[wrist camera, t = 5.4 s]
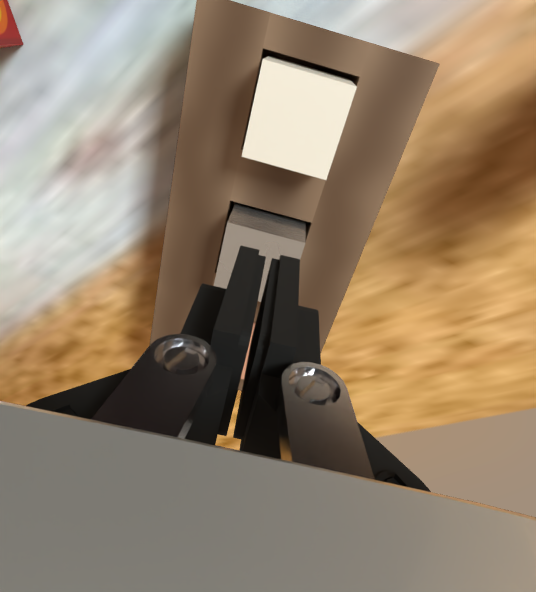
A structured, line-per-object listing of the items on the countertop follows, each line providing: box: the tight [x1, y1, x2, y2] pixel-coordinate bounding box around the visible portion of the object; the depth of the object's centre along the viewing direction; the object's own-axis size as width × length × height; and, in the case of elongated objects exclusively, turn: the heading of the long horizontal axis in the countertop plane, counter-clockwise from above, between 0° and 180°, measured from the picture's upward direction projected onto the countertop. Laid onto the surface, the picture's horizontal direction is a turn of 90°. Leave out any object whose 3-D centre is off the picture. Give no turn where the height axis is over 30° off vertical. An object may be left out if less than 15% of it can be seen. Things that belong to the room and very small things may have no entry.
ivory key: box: [242, 55, 357, 180], centre depth 22 cm, size 4×4×4 cm
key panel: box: [150, 0, 439, 391], centre depth 29 cm, size 12×24×5 cm, turn 166°
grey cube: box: [214, 202, 306, 302], centre depth 26 cm, size 4×4×4 cm
